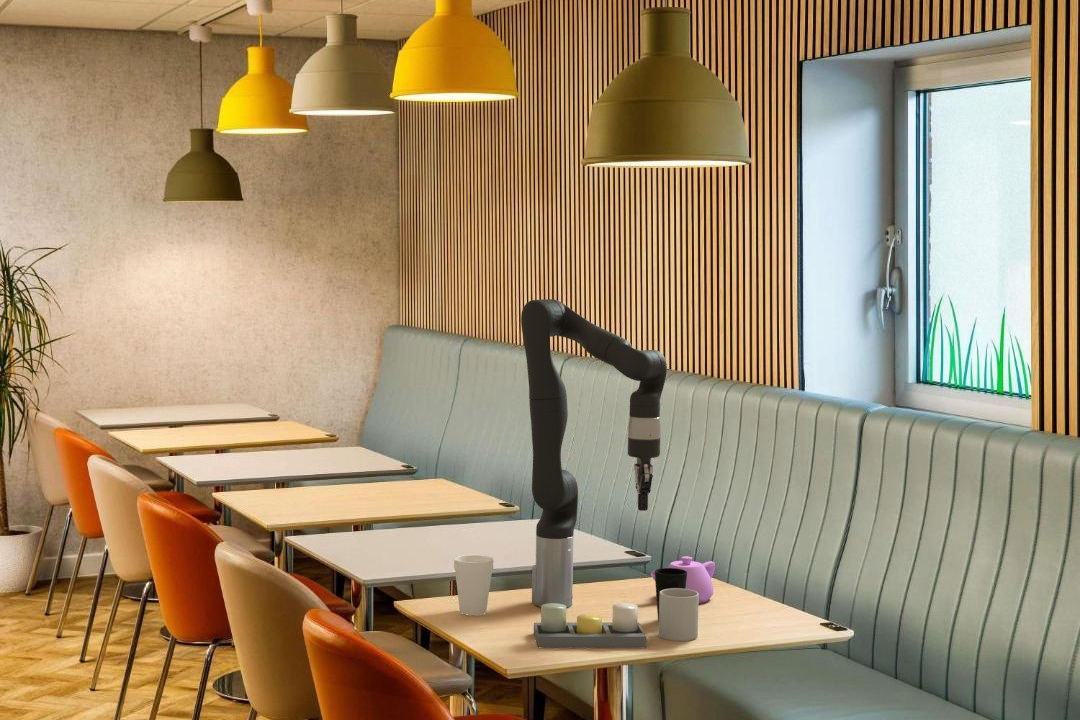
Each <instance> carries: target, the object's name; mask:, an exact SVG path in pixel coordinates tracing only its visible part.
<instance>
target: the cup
mask: <svg viewBox="0 0 1080 720" xmlns="http://www.w3.org/2000/svg"><path fill="white" fill-rule="evenodd" d="M654 571H655V580H654V582H655V596H656V609H657V622H658V623H659V595H660V591H661V590H664V589H671V588H681V589H686V580H687V571H685V570H682V569H677V568H667V567H663V568H662V567H661V568H657V569H655V570H654Z"/></svg>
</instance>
